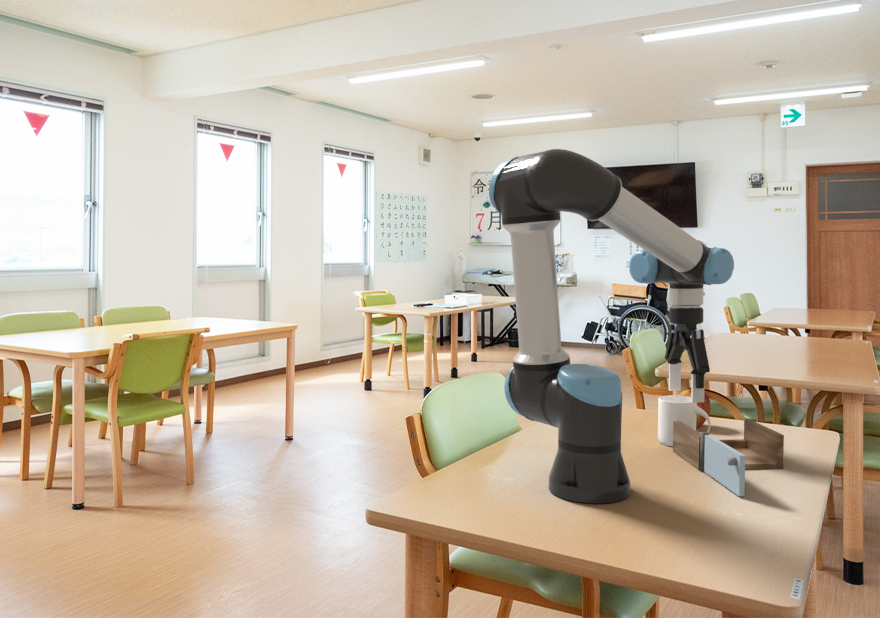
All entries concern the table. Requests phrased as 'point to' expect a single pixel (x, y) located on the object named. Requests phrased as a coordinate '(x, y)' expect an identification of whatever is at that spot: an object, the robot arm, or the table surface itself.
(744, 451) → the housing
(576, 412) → the robot arm
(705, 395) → the apple
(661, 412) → the mug
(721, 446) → the door
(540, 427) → the table surface
